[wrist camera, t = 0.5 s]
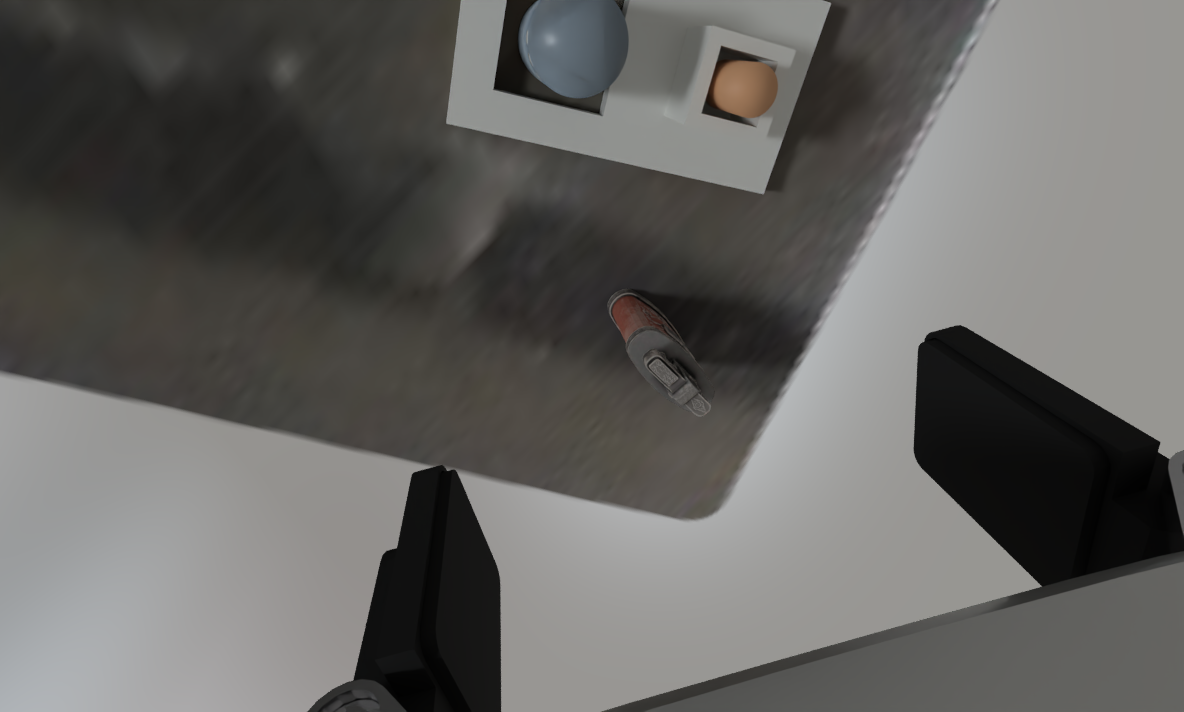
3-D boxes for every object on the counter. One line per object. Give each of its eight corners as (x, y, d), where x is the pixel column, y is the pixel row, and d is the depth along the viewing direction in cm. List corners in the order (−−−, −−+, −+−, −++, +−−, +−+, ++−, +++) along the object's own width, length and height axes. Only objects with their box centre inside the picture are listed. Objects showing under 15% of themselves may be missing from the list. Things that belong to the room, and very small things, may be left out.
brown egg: (696, 103, 37) (721, 111, 33) (710, 53, 36) (738, 56, 32) (737, 114, 37) (767, 123, 34) (752, 65, 36) (785, 69, 32)
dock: (447, 120, 38) (441, 133, 33) (474, -107, 33) (473, -133, 28) (755, 189, 44) (792, 210, 38) (819, 4, 38) (872, -2, 33)
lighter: (692, 344, 49) (738, 410, 40) (661, 370, 50) (700, 441, 41) (630, 279, 45) (665, 336, 37) (597, 309, 46) (624, 372, 37)
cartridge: (511, 74, 38) (519, 84, 30) (526, -16, 35) (538, -31, 28) (587, 94, 39) (614, 108, 31) (606, 7, 37) (640, -1, 29)
